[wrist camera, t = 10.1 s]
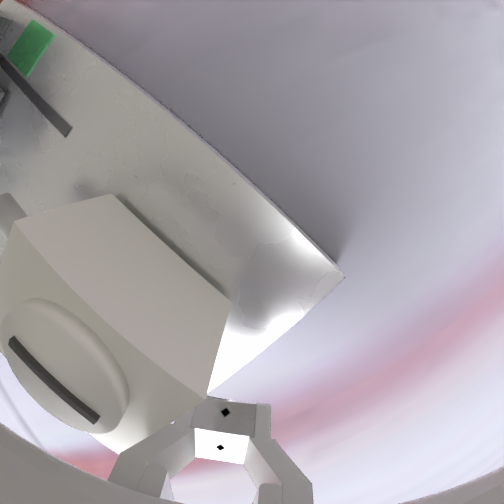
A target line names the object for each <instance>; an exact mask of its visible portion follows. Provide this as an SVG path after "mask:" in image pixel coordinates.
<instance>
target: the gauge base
mask: <svg viewBox="0 0 504 504" xmlns="http://www.w3.org/2000/svg"><path fill="white" fill-rule="evenodd" d="M0 87H1V88H2V89H3V91H4V92H5V94H4V96H3V98H2V100H1V102H0V195H2V194H4V193H10V194H11V195H12V196H13V197H14V199H15V200H16V201H17V203H18V204H19V205H20V207H21V208H22V209H23V211H24V212H25V213H26V214H27V216H31V215H34V214H37V213H41V212H44V211H47V210H51V209H54V208H58V207H61V206H65V205H68V204H72V203H76V202H79V201H83V200H87V199H91V198H95V197H99V196H103V195H107V194H111V193H112V194H113V195H114V196H115V197H116V198H117V199H118V200H119V201H120V202H121V203H122V204H123V205H124V206H125V207H126V208H127V209H128V210H130V211H131V212H132V213H133V214H134V215H135V216H136V217H137V218H138V219H139V220H140V221H141V222H142V223H143V224H144V225H145V226H146V227H148V228H149V229H150V230H151V231H152V232H153V233H154V234H155V235H156V236H157V237H158V238H159V239H161V240H162V241H163V242H164V243H165V244H166V245H167V246H168V247H169V248H170V249H172V250H173V251H174V252H175V253H176V254H177V255H178V256H179V257H180V258H182V259H183V260H184V261H185V262H186V263H187V264H188V265H189V266H191V267H192V268H193V269H194V270H195V271H196V272H197V273H198V274H200V275H201V276H202V277H203V278H204V279H205V280H207V281H208V282H209V283H210V284H211V285H212V286H213V287H215V288H216V289H217V290H218V291H219V292H220V293H222V294H223V295H224V296H225V297H226V298H228V299H229V300H230V301H231V302H232V303H231V306H230V310H229V314H228V317H227V321H226V325H225V328H224V332H223V336H222V340H221V343H220V347H219V351H218V355H217V358H216V362H215V366H214V370H213V373H212V377H211V381H210V385H209V388H208V392H209V391H211V390H212V389H213V388H215V387H216V386H217V385H219V384H220V383H221V382H223V381H224V380H225V379H227V378H228V377H229V376H231V375H232V374H233V373H235V372H236V371H237V370H239V369H240V368H241V367H242V366H244V365H245V364H246V363H248V362H249V361H250V360H251V359H253V358H254V357H255V356H256V355H258V354H259V353H260V352H261V351H263V350H264V349H265V348H266V347H268V346H269V345H270V344H271V343H272V342H274V341H275V340H276V339H277V338H278V337H280V336H281V335H282V334H283V333H284V332H286V331H287V330H288V329H289V328H290V327H291V326H293V325H294V324H295V323H296V322H297V321H298V320H300V319H301V318H302V317H303V316H304V315H305V314H306V313H308V312H309V311H310V310H311V309H312V308H313V307H314V306H315V305H317V304H318V303H319V302H320V301H321V300H322V299H323V298H324V297H325V296H327V295H328V294H329V293H330V292H331V291H332V290H333V289H334V288H335V287H336V286H337V285H338V284H340V283H341V282H342V281H343V280H344V279H345V276H344V275H343V273H342V271H341V270H340V268H339V267H338V265H337V264H336V263H335V262H334V261H333V260H332V259H331V258H330V257H329V256H328V255H327V254H326V253H325V252H324V251H323V250H322V249H321V248H320V247H319V246H318V245H317V244H316V243H315V242H314V241H313V240H312V239H311V238H310V237H309V236H308V235H307V234H306V233H305V232H304V231H303V230H302V229H301V228H300V227H299V226H298V225H297V224H296V223H295V222H294V221H293V220H291V219H290V218H289V217H288V216H287V215H286V214H285V213H284V212H283V211H282V210H281V209H280V208H279V207H278V206H277V205H276V204H275V203H274V202H273V201H271V200H270V199H269V198H268V197H267V196H266V195H265V194H264V193H263V192H262V191H261V190H260V189H259V188H257V187H256V186H255V185H254V184H253V183H252V182H251V181H250V180H249V179H248V178H247V177H245V176H244V175H243V174H242V173H241V172H240V171H239V170H238V169H237V168H236V167H234V166H233V165H232V164H231V163H230V162H229V161H228V160H227V159H225V158H224V157H223V156H222V155H221V154H220V153H219V152H217V151H216V150H215V149H214V148H213V147H212V146H211V145H209V144H208V143H207V142H206V141H205V140H204V139H203V138H201V137H200V136H199V135H198V134H197V133H196V132H194V131H193V130H192V129H191V128H190V127H188V126H187V125H186V124H185V123H184V122H183V121H181V120H180V119H179V118H178V117H177V116H175V115H174V114H173V113H172V112H171V111H169V110H168V109H167V108H166V107H164V106H163V105H162V104H161V103H160V102H158V101H157V100H156V99H155V98H153V97H152V96H151V95H150V94H148V93H147V92H146V91H145V90H143V89H142V88H141V87H140V86H138V85H137V84H136V83H135V82H133V81H132V80H131V79H129V78H128V77H127V76H126V75H124V74H123V73H122V72H120V71H119V70H118V69H116V68H115V67H114V66H112V65H111V64H110V63H108V62H107V61H106V60H104V59H103V58H102V57H100V56H99V55H98V54H96V53H95V52H94V51H92V50H91V49H89V48H88V47H87V46H85V45H84V44H83V43H81V42H80V41H78V40H77V39H75V38H74V37H73V36H71V35H70V34H68V33H67V32H65V31H64V30H63V29H61V28H60V27H58V26H57V25H55V24H54V23H52V22H51V21H49V20H48V19H46V18H45V17H43V16H42V15H40V14H39V13H37V12H35V11H34V10H32V9H31V8H29V7H28V6H26V5H24V4H23V3H21V2H20V1H17V0H3V1H2V2H1V4H0ZM6 243H7V240H6V238H5V237H4V236H3V234H2V233H1V231H0V264H1V260H2V257H3V253H4V250H5V246H6ZM208 392H207V393H208Z"/></svg>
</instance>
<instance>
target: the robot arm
mask: <svg viewBox="0 0 504 504" xmlns="http://www.w3.org/2000/svg"><path fill="white" fill-rule="evenodd" d="M195 457H201V458H207V459H214V460H221V461H227V462H233V463H240V464H243V466H244V467H245V469H246V471H247V473H248V474H249V476H250V478H251V479H252V481H253V483H254V484H255V486H256V488H257V489H258V491H257V493H256V496H255V498H254V501H253V503H252V504H313V490H312V483H311V482H310V481H309V480H308V479H307V477H306V476H305V475H304V474H303V473H302V472H301V470H300V469H299V468H298V467H297V466H296V465H295V463H294V462H293V461H292V460H291V459H290V457H289V456H288V455H287V454H286V453H285V451H284V450H283V449H282V448H281V446H280V445H279V444H278V443H277V441H276V440H275V439H271V405H270V404H264V403H254V402H245V401H237V400H229V399H228V400H227V399H222V398H216V397H211V396H206V399H205V400H204V401H202V402H201V403H200V404H198V405H197V406H195V407H194V408H192V409H191V410H189V411H188V412H186V413H185V414H183V415H182V416H180V417H179V418H177V419H176V420H175V422H174V424H171V423H170V424H168V425H167V426H165V427H164V428H162V429H160V430H159V431H157V432H156V433H154V434H153V435H151V436H149V437H147V438H145V439H143V440H142V441H140V442H138V443H137V444H135V445H133V446H131V447H130V448H128V449H126V450H124V451H122V452H121V453H120V455H119V457H118V459H117V461H116V463H115V465H114V467H113V469H112V472H111V474H110V476H109V478H108V480H105V479H102V478H100V477H97V476H95V475H92V474H90V473H88V472H86V471H83V470H81V469H79V468H77V467H75V466H73V465H71V464H69V463H67V462H65V461H63V460H61V459H59V458H57V457H55V456H53V455H51V454H49V453H48V452H46V451H44V450H42V449H41V448H39V447H37V446H35V445H34V444H32V443H30V442H29V441H27V440H26V439H24V438H22V437H21V436H19V435H18V434H16V433H15V432H13V431H12V430H10V429H9V428H8V427H6V426H5V425H3V424H2V423H1V422H0V504H183V503H179V502H174V501H173V500H174V497H173V493H172V488H171V484H170V479H171V478H172V477H174V476H175V475H176V474H177V473H178V472H180V471H181V470H182V469H183V468H184V467H185V466H187V465H188V464H189V463H190V462H191V461H192V460H194V459H195ZM399 504H504V466H502V467H500V468H498V469H496V470H494V471H492V472H490V473H488V474H486V475H484V476H481V477H479V478H477V479H474V480H472V481H469V482H467V483H464V484H462V485H459V486H456V487H454V488H451V489H448V490H445V491H442V492H439V493H436V494H433V495H429V496H426V497H423V498H419V499H415V500H411V501H407V502H403V503H399Z"/></svg>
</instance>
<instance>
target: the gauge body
mask: <svg viewBox="0 0 504 504" xmlns="http://www.w3.org/2000/svg"><path fill="white" fill-rule="evenodd" d="M0 231H1V233H2V234H3V236H4V237H5V238H6V240H7V243H6V246H5V250H4V253H3V257H2V260H1V264H0V352H1V353H2V354H3V355H4V356H5V357H6V359H7V360H8V363H9V365H10V367H11V369H12V371H13V372H14V374H15V376H16V377H17V379H18V380H19V382H20V383H21V385H22V386H23V387H24V389H25V390H26V391H27V392H28V393H29V394H30V396H31V397H32V398H33V399H34V400H35V401H36V402H37V403H38V404H39V405H40V406H41V407H43V408H44V409H45V410H46V411H47V412H49V413H50V414H51V415H53V416H54V417H56V418H57V419H59V420H60V421H62V422H64V423H65V424H67V425H69V426H71V427H73V428H76V429H78V430H81V431H85V432H87V433H88V434H90V435H91V436H92V437H94V438H95V439H97V440H98V441H99V442H101V443H102V444H104V445H105V446H107V447H108V448H110V449H111V450H113V451H114V452H116V453H117V454H120V453H121V452H122V451H124V450H126V449H128V448H130V447H131V446H133V445H135V444H137V443H138V442H140V441H142V440H143V439H145V438H147V437H149V436H151V435H153V434H154V433H156V432H157V431H159V430H160V429H162V428H164V427H165V426H167V425H168V424H170V423H171V422H173V421H174V420H176V419H177V418H179V417H180V416H182V415H183V414H185V413H186V412H188V411H189V410H191V409H192V408H194V407H195V406H197V405H198V404H200V403H201V402H202V401H204V400H205V399H206V396H207V392H208V388H209V385H210V381H211V377H212V373H213V370H214V366H215V362H216V358H217V355H218V351H219V347H220V343H221V340H222V336H223V332H224V328H225V325H226V321H227V317H228V314H229V310H230V306H231V303H232V302H231V301H230V300H229V299H228V298H226V297H225V296H224V295H223V294H222V293H220V292H219V291H218V290H217V289H216V288H215V287H213V286H212V285H211V284H210V283H209V282H208V281H207V280H205V279H204V278H203V277H202V276H201V275H200V274H198V273H197V272H196V271H195V270H194V269H193V268H192V267H191V266H189V265H188V264H187V263H186V262H185V261H184V260H183V259H182V258H180V257H179V256H178V255H177V254H176V253H175V252H174V251H173V250H172V249H170V248H169V247H168V246H167V245H166V244H165V243H164V242H163V241H162V240H161V239H159V238H158V237H157V236H156V235H155V234H154V233H153V232H152V231H151V230H150V229H149V228H148V227H146V226H145V225H144V224H143V223H142V222H141V221H140V220H139V219H138V218H137V217H136V216H135V215H134V214H133V213H132V212H131V211H130V210H128V209H127V208H126V207H125V206H124V205H123V204H122V203H121V202H120V201H119V200H118V199H117V198H116V197H115V196H114V195H113V194H112V193H111V194H107V195H103V196H99V197H95V198H91V199H87V200H83V201H79V202H76V203H72V204H68V205H65V206H61V207H58V208H54V209H51V210H47V211H44V212H41V213H37V214H34V215H31V216H27V214H26V213H25V212H24V211H23V209H22V208H21V207H20V205H19V204H18V203H17V201H16V200H15V199H14V197H13V196H12V195H11V194H10V193H4V194H2V195H0Z"/></svg>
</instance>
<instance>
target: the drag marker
mask: <svg viewBox="0 0 504 504" xmlns="http://www.w3.org/2000/svg"><path fill="white" fill-rule="evenodd" d="M4 94H5V92H4V91H3V89H2V88H1V87H0V102H1V100H2V98H3V96H4Z"/></svg>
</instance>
